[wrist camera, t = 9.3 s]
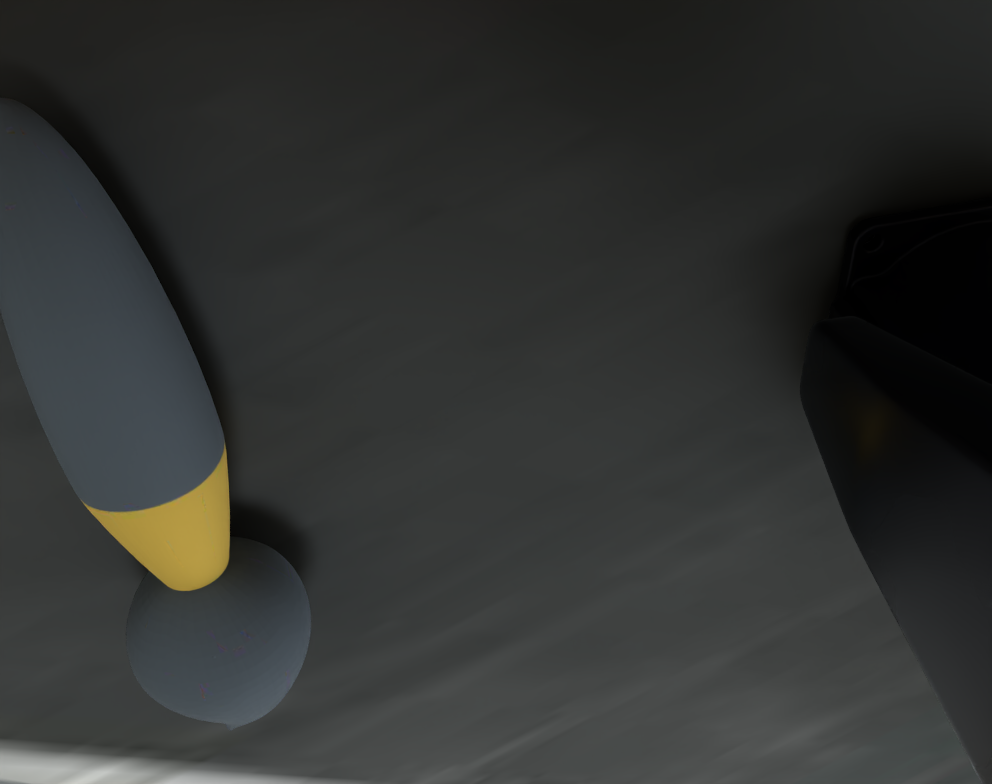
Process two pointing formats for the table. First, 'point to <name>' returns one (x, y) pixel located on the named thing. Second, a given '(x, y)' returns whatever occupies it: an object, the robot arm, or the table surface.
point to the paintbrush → (139, 436)
